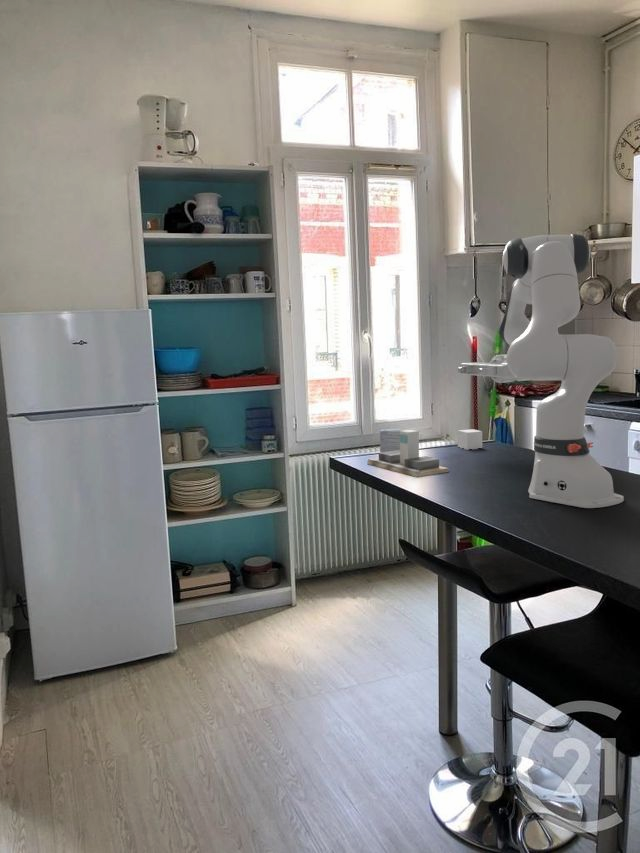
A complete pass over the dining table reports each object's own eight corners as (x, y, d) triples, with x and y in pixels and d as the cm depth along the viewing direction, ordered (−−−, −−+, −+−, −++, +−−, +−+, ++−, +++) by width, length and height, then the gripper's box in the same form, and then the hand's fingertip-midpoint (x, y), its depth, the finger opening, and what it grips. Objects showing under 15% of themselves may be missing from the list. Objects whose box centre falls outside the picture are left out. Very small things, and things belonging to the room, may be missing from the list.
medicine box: (404, 454, 230) (404, 428, 229) (404, 457, 226) (404, 430, 224) (380, 454, 231) (380, 429, 229) (380, 457, 226) (379, 431, 225)
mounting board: (448, 471, 201) (448, 459, 201) (416, 476, 195) (416, 464, 195) (398, 459, 222) (398, 448, 221) (367, 463, 216) (367, 452, 215)
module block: (418, 464, 208) (418, 431, 207) (407, 465, 206) (407, 432, 205) (410, 462, 212) (410, 429, 210) (399, 463, 210) (399, 430, 208)
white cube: (457, 447, 242) (457, 430, 241) (472, 446, 244) (472, 429, 243) (467, 450, 236) (467, 432, 235) (482, 448, 238) (482, 431, 237)
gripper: (479, 357, 227) (446, 359, 220) (527, 359, 210) (493, 361, 203) (479, 377, 228) (446, 379, 221) (526, 380, 211) (493, 383, 204)
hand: (469, 370), depth 212 cm, fingers open, 8 cm apart
